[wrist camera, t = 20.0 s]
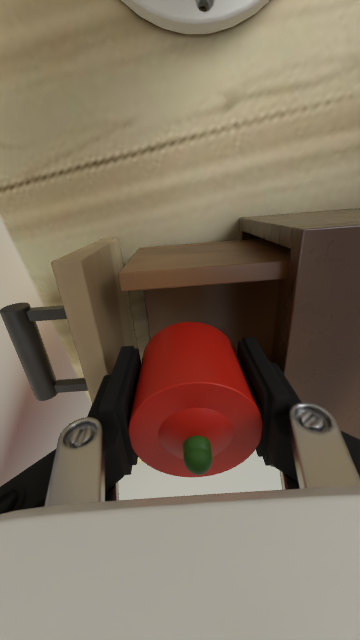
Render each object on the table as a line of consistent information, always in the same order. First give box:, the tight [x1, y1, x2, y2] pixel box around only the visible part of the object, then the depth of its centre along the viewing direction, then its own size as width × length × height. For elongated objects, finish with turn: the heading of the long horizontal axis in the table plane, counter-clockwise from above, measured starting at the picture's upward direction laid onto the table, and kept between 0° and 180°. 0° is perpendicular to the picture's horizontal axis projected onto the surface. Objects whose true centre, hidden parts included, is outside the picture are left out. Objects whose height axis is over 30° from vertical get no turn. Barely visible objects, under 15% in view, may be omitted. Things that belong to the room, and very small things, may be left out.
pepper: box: [128, 322, 263, 477], centre depth 10 cm, size 5×5×6 cm
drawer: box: [0, 238, 291, 404], centre depth 15 cm, size 17×11×7 cm, turn 94°
